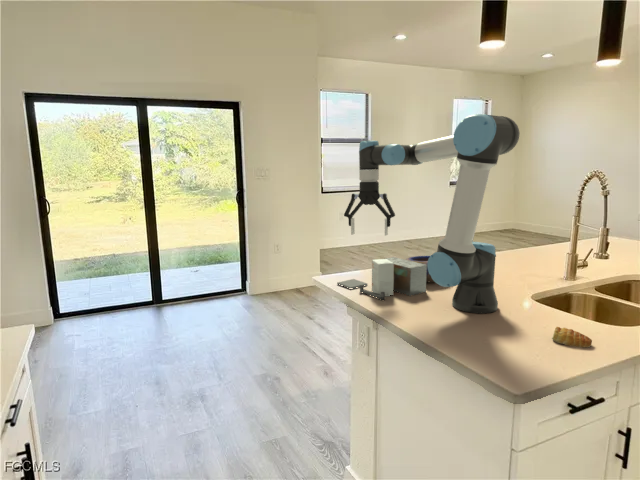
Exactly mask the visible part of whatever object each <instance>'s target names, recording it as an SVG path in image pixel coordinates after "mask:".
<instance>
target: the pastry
mask: <svg viewBox="0 0 640 480" xmlns="http://www.w3.org/2000/svg"><path fill="white" fill-rule="evenodd" d="M551 340H553V342H555V343H557V344H562V345H564V346H570V347H575V348H576V347H577V348H590V347H591V346H592V342H593V340H592V338H590V337H588V336H587V335H585V334H584V333H583V334H582V333H580V332H579V331H576V330H574V329H572V328H567V327H560V326H556V327H555V329H554V331H553V335H552V338H551Z"/></svg>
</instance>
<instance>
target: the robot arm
mask: <svg viewBox="0 0 640 480" xmlns="http://www.w3.org/2000/svg"><path fill="white" fill-rule="evenodd" d="M454 129H455V130H454V132H453V135H449V136H444V137H440V138H435V139H431V140H427V141H422V142H419V143H413V144H399V143H388V144H382V145H381V144H380V143H379V141H378V140H362V141H360V143H359V149H358V154H359V155H358V160H359V166H358V167H359V170H358V171H359V178H358V179H359V181H360V182H359V193H355V192H354V193H352V194H351V198H350V201H349V203H348V205H347V207H346V209H345V212H344V214H343V217H346V218H348V227H350V234H351V235H354V234H355V232H356V230H355V217H354V216H355V215H356V213H357V212H358V211H359V209H360V208H362V206H363V205H366V206H367V205H369V206H376V207H377V209H379V211H380V212H381V213H382V214H383V215H384V216H385V218H384V236H388V235H389V233H388V232H389V231H388V230H389V228H390V226H391V219H392V218H395V216H396V214H395V211H394V210H393V207H392V205H391V204H390V201H389V200H388V194H387V193H385V192H384V193H380V191H379V189H380V188H379V187H380V185H379V184H380V183H379V180H380V179H379V178H380V168H379V167H380V166H405V165H409V166H417V165H421V164H423V163H429V162H435V161H440V160H447V159H452V158H456V160H457V161H458V163H459V164H460V165H459V170H458V175H457V178H456V179H457V180H456V184H455V190H454V194H453V198H452V203H451V207H450V213H449V217H448V221H447V225H446V231H445V236H444V238H442V239H441V240H439V241H438V246H437V251H435V252H433V253H432V255H429V256H430V257H429V259H428V264H427V267H428V272H429V274H430V275H431V278H432V279H433V280H434V283H435V284H437V285H439V286H441V287H443V288H449V287H456V289H455V292H454V294H453V296H452V301H451V302H452V303H451V306H452V307H454V308H455V309H456V310H459V311H463V312H466V313H470V314H471V313H473V314H491V313H494V312H497V311H498V309H499V308H498V307H499V301H498V298H497V294H496V291H495V287H494V283H495V268H496V267H495V266H496V257H497V254H496V245H494V244H492V243H487V242H480V241H474V237H475V234H476V230H477V227H478V226H477V225H478V222H479V221H478V220H479V217H480V212H481V209H482V204H483V199H484V195H485V191H486V188H487V183H488V179H489V174H490V171H491V169H492V168H493V167H495V166H497V164H498V160H499V157H500V156H501V155H505V154H507V153H509V152H511V151H512V150H514V148H515V147H516V146H517V145H518V142H519V140H520V128H519V125H518V124H517V123H516V122H515V121H514V120H513V119H512V118H510V117H508V116H502V115H493V114H485V113H478V114H477V113H476V114H471V115H468V116H465V118H463V120H461V121H460V122H459V123H458V124H457V126H456V128H454ZM358 198H359V200H360V201H359V202H358V203H357V205H356V206H355V207H354V208H353V205H354V203H355V202H356V200H357V199H358ZM380 198H381V199H382V200H383V202H384V205H385V206H386V208H387V209H386V208H384V206H383V205H382V204H381V202H380V201H379V199H380ZM352 208H353V210H352ZM351 210H352V211H351ZM387 210H388V211H387Z"/></svg>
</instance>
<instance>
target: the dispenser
mask: <svg viewBox="0 0 640 480" xmlns="http://www.w3.org/2000/svg"><path fill="white" fill-rule="evenodd" d="M385 259H387V260H389V261H391V262H392V263H394V286H393V290H395V291H394V292H396V291H398V292H397V293H399V292H400V294H402V293H404V294H403V295H405V294H406V295H405V296H408V295H409V297H412V296H411V295H413V296H416V295H419V293H420V294H423V293H426V292H427V282H426V273H427V265H426V264H421V263H417V262H413V261H409V260H406V259H403V258H399V257H394V256H392V257H386V258H385ZM360 292H363V293H366V294H368V295H371V296H374V297H377V298H379V299H378V300H380V299H381V300H380V301H382V300H384V301H385V300H386V296H385V292H381V295H380V294H377V293H374V292H372V290H368V289H365V288H364V287H363V285H360V288H359V293H360ZM422 292H423V293H422ZM363 293H362V294H363ZM366 294H365V295H366ZM415 294H416V295H415ZM368 295H367V296H368ZM371 296H370V297H371ZM374 297H373V298H374ZM377 298H376V299H377Z"/></svg>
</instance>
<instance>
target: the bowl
mask: <svg viewBox="0 0 640 480" xmlns="http://www.w3.org/2000/svg"><path fill="white" fill-rule="evenodd" d="M430 256H431V255H416V256H410V257H408V258H406V259H405V260H409V261H413V262H417V263H421V264H426V265H427V264H428V259H429V257H430ZM426 283H435V281H434V280H433V279H432V278H431V275H430V274H429V272H428V267H427V273H426Z"/></svg>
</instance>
